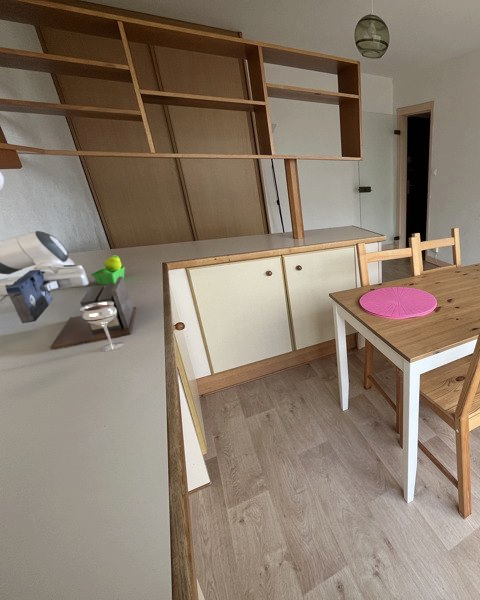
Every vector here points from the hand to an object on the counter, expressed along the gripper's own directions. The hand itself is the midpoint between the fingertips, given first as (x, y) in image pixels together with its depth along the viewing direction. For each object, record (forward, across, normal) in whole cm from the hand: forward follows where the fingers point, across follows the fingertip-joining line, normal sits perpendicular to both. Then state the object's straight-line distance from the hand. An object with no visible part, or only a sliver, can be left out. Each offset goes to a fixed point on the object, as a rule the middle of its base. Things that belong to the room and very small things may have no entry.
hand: (34, 290), depth 90 cm
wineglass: (+24, +17, +12) cm, 32 cm away
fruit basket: (-47, +10, +12) cm, 50 cm away
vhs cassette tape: (+3, 0, +6) cm, 6 cm away
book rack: (+7, +12, +12) cm, 18 cm away
